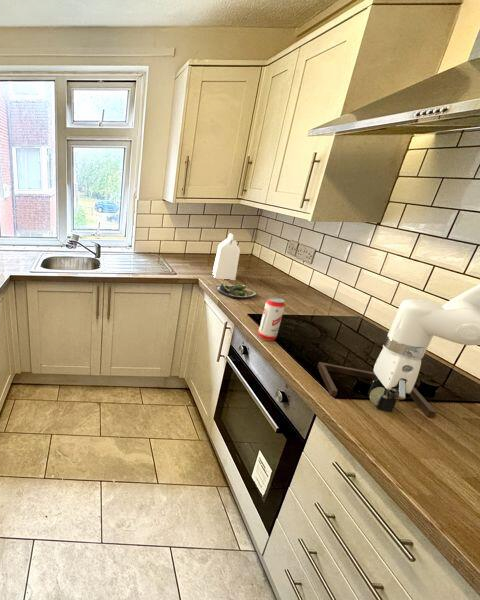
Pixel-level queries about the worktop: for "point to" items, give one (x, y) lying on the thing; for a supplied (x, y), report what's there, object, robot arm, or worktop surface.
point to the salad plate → (235, 291)
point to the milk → (226, 259)
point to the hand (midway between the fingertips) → (379, 402)
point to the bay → (369, 375)
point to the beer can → (271, 318)
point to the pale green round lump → (377, 394)
